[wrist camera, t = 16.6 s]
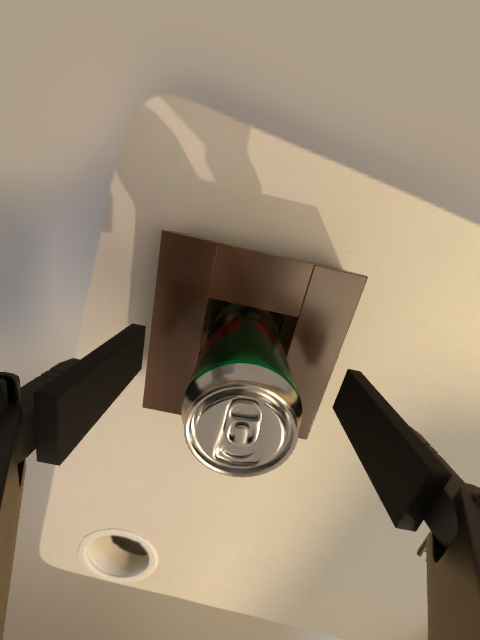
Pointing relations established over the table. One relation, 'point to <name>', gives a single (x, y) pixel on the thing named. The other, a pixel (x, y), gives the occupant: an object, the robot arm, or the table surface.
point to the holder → (254, 291)
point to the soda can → (242, 397)
